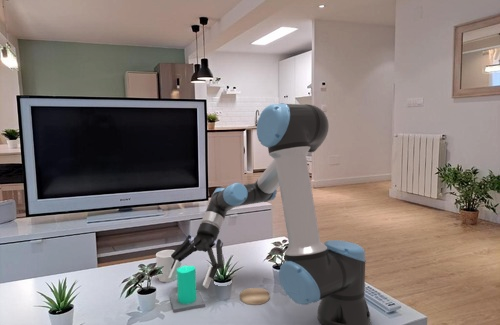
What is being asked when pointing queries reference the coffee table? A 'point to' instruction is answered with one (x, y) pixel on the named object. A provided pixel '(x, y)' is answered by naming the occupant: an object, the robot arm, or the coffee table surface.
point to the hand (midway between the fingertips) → (187, 283)
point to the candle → (186, 284)
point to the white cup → (165, 264)
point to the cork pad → (254, 296)
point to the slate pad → (182, 307)
